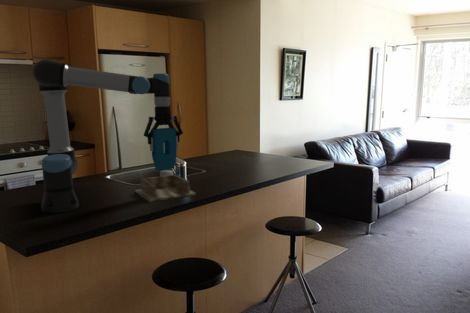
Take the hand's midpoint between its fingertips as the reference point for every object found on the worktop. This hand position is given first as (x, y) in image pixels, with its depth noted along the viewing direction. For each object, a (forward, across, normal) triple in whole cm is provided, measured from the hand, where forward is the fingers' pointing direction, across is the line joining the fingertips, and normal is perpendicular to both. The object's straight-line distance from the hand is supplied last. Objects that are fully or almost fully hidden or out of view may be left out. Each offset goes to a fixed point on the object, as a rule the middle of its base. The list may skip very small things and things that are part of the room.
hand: (164, 149), depth 198 cm
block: (+10, 0, 0) cm, 10 cm away
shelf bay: (+22, 0, 0) cm, 22 cm away
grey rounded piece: (+22, +7, +16) cm, 29 cm away
